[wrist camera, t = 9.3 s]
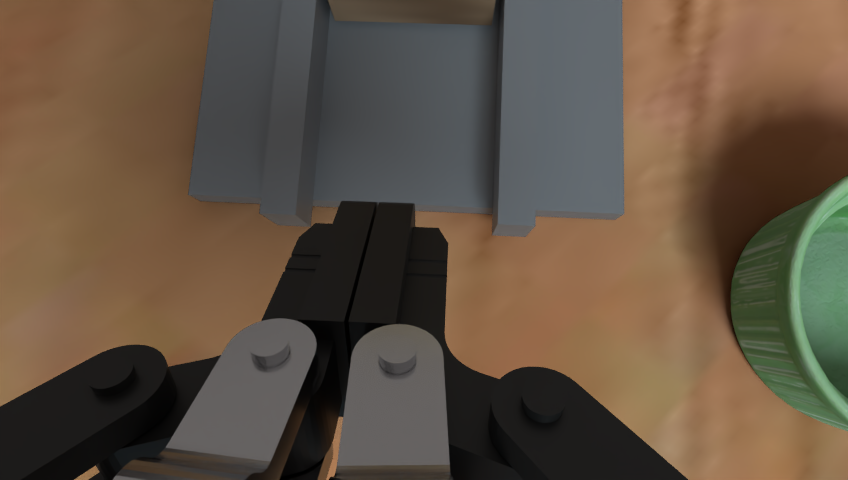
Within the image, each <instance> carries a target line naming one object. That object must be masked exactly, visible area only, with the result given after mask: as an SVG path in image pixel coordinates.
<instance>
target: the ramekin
mask: <svg viewBox="0 0 848 480" xmlns="http://www.w3.org/2000/svg"><path fill="white" fill-rule="evenodd" d="M731 315H732V321H733V326H734V330H735V333H736V336H737V339H738V342H739V344H740V346H741V349H742V351H743V353H744V355H745V357H746V359H747V360H748V362H749V363H750V365H751V366H752V368H753V370H754V371H755V372H756V374H757V375H758V376H759V377H760V378H761V380H762V381H763V382H764V383H765V384H766V385H767V386H768V387H769V388H770V389H771V390H772V391H773V392H774V393H775V394H776V395H777V396H778V397H779V398H781V399H782V400H784V401H785V402H786V403H787V404H789V405H790V406H792V407H793V408H795V409H797V410H799V411H800V412H802V413H804V414H806V415H807V416H810V417H812V418H814V419H817V420H819V421H821V422H823V423H826V424H828V425H831V426H834V427H837V428H840V429H843V430H846V431H848V175H847V176H846V177H844V178H842V179H841V180H839V181H838V182H836V183H834V184H833V185H831V186H830V187H829V188H827V189H826V190H825V191H824V192H823V193H821V194H820V195H819V196H817V197H815V198H812V199H810V200H808V201H806V202H804V203H802V204H800V205H798V206H795V207H793V208H791V209H790V210H788V211H786V212H784V213H782V214H781V215H779V216H777V217H775V218H774V219H772V220H771V221H770V222H768V223H767V224H766V225H765V226H763V227H762V228H761V229H760V230H759V231H758V232H757V233H756V234H755V235H754V236H753V237H752V238H751V240H750V241H749V242H748V244H747V245H746V247H745V248H744V250H743V252H742V254H741V256H740V258H739V260H738V262H737V265H736V267H735V270H734V275H733V278H732V286H731Z"/></svg>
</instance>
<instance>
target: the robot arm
mask: <svg viewBox="0 0 848 480" xmlns="http://www.w3.org/2000/svg"><path fill="white" fill-rule="evenodd" d="M447 257H448V242H447V241H446V239H445V238H444V236H443V235H442V233H441V231H440V230H439V228H424V227H415V204H414V203H396V202H379V204H378V203H377V202H366V201H341V203H340V205H339V208H338V211H337V213H336V216H335V219H334V221H333V224H320V223H315V224H314V225H313V226H312V227H311V228H309V229H308V230H307V231H306V232H305V233H304V234H302V235H301V236H300V237H299V239H298V241H297V243H296V245H295V247H294V250H293V252H292V257H290V259H289V261H288V263H287V265H286V267H285V272H283V274H282V276H281V278H280V281H279V283H278V285H277V287H276V290H275V292H274V294H273V296H272V298H271V301H270V303H269V305H268V307H267V310H266V312H265V314H264V316H263V318H262V321H261V322H257V323H255V324H253V325H250V326H248V327H247V328H245V329H243V330H242V331H240V332H239V333H238V334H236V335H235V336H234V337H233V338H232V339H231V341H230V342H229V344H228V345H227V347H226V348H225V350H224V352H223V353H222V355H220V356H217V357H213V358H209V359H205V360H200V361H195V362H190V363H185V364H180V365H175V366H170V367H168V364H167V362H166V360H165V357H164V356H163V355H162V353H161V352H159V351H158V350H157V349H155V348H152V347H149V346H145V345H126V346H120V347H117V348H113V349H110V350H107V351H104V352H102V353H100V354H98V355H96V356H94V357H92V358H90V359H88V360H86V361H85V362H83V363H81V364H79V365H77V366H75V367H73V368H71V369H70V370H68V371H66V372H64V373H62V374H60V375H58V376H57V377H55V378H53V379H51V380H49V381H47V382H45V383H43V384H42V385H40V386H38V387H36V388H34V389H32V390H30V391H29V392H27V393H25V394H23V395H21V396H19V397H17V398H15V399H14V400H12V401H10V402H8V403H6V404H4V405H2V406H1V407H0V480H74V479H75V478H77V477H78V476H80V475H82V474H83V473H85V472H86V471H88V470H89V469H91V468H92V467H94V466H95V465H96V467H97V468H98V470H99V473H98V474H96V475H95V476H93V477H92V478H90V479H89V480H326V478H327V475H328V471H329V468H330V465H331V462H332V457H333V444H332V442H333V438H334V434H335V430H336V425H337V421H338V417H343V424H342V432H341V439H340V447H339V455H338V462H337V468H336V473H335V476H334V477H330V479H329V480H688V479H687V478H686V477H685V476H683V475H682V474H681V473H680V472H679V471H678V470H677V469H675V468H674V467H673V466H672V465H671V464H670V463H668V462H667V461H666V460H665V459H664V458H663V457H662V456H660V455H659V454H658V453H657V452H656V451H655V450H653V449H652V448H651V447H650V446H649V445H648V444H647V443H645V442H644V441H643V440H642V439H641V438H640V437H638V436H637V435H636V434H635V433H634V432H633V431H631V430H630V429H629V428H628V427H627V426H626V425H625V424H623V423H622V422H621V421H620V420H619V419H618V418H616V417H615V416H614V415H613V414H612V413H611V412H610V411H608V410H607V409H606V408H605V407H604V406H603V405H601V404H600V403H599V402H598V401H597V400H596V399H595V398H593V397H592V396H591V395H590V394H589V393H588V392H586V391H585V390H584V389H583V388H582V387H581V386H579V385H578V384H577V383H576V382H575V381H573V380H572V379H571V378H569V377H567V376H566V375H564V374H562V373H560V372H557V371H555V370H552V369H548V368H543V367H523V368H519V369H516V370H513V371H511V372H509V373H507V374H506V375H504V376H503V377H502V378H501V379H497V378H494V377H491V376H488V375H485V374H482V373H479V372H477V371H474V370H472V369H470V368H468V367H467V366H465V365H464V364H462V363H461V362H460V361H458V360H457V359H456V358H455V357H454V356H453V354H452V353H451V352H450V350H449V348H448V346H447V344H446V341H445V333H444V331H445V306H446V282H447Z"/></svg>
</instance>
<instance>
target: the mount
mask: <svg viewBox="0 0 848 480" xmlns="http://www.w3.org/2000/svg"><path fill="white" fill-rule="evenodd" d="M188 195H190V196H192V197H194V198H196V199H198V200H199V201H211V202H234V203H256V204H260V212H259V213H260V214H261V215H263V216H264V217H266V218H268V219H269V220H271V221H272V222H274V223H275V224H277V225H284V226H306V227H311V217H312V206H322V207H339V205H340V203H341V201H366V202H377V203H378V204H379V202H396V203H414V204H415V211H433V212H455V213H478V214H493V218H492V235H498V236H519V237H526V236H527V235H528V233H529V232H530V231H531V230H532V229H533V228H534V227H535V216H544V217H566V218H589V219H611V220H615V219H617V218H619V217H620V216H622V215H623V214H624V149H623V46H622V0H496V1H495V7H494V14H493V20H492V25H461V24H427V23H394V22H360V21H335V19H334V16H333V13H332V11H331V8H330V5H329V2H328V0H214V2H213V10H212V18H211V25H210V33H209V40H208V48H207V55H206V63H205V71H204V78H203V86H202V93H201V101H200V108H199V116H198V124H197V131H196V139H195V146H194V154H193V161H192V169H191V177H190V184H189V192H188Z"/></svg>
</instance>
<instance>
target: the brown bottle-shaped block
mask: <svg viewBox="0 0 848 480" xmlns="http://www.w3.org/2000/svg"><path fill="white" fill-rule="evenodd" d="M495 1H496V0H328V2H329V5H330V8H331V11H332V13H333V16H334V19H335V21H360V22H394V23H427V24H461V25H492V20H493V14H494V7H495Z"/></svg>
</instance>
